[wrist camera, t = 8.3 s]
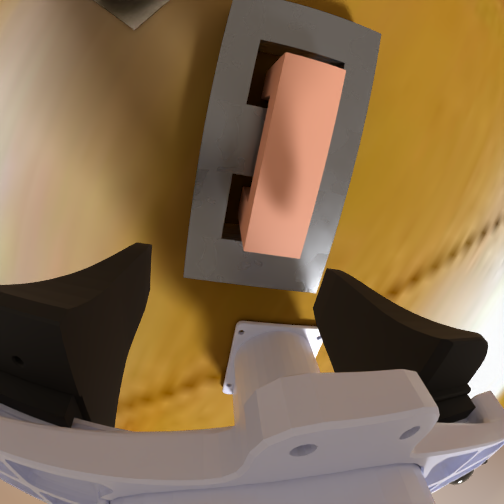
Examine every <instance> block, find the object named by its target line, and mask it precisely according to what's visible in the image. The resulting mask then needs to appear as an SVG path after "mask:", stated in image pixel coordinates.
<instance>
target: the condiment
mask: <svg viewBox="0 0 504 504" xmlns="http://www.w3.org/2000/svg"><path fill="white" fill-rule="evenodd" d="M93 1H95V2H96V3H98V4H99V5H101V6H102V7H104V8H105V9H106V10H108V11H109V12H110V13H112V14H113V15H115V16H116V17H117V18H119V19H120V20H121V21H123V22H124V23H126V24H127V25H128V26H129V27H131V28H132V29H133V30H135V29H136V28H138V27H139V26H140V25H141V24H142V23H143V22H144V21H146V20H147V19H148V18H149V17H150V16H151V15H152V14H154V13H155V12H156V11H157V10H158V9H159V8H160V7H162V6H163V5H164V4H165V3H167V2H168V1H169V0H93Z"/></svg>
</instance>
